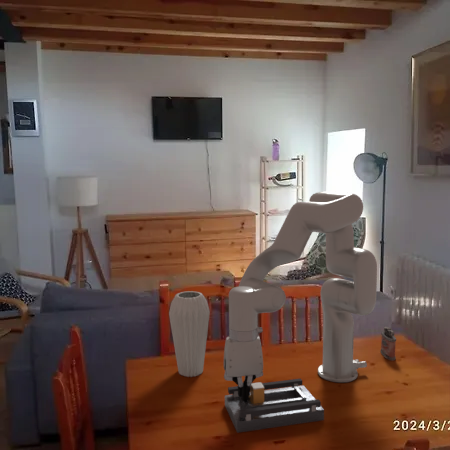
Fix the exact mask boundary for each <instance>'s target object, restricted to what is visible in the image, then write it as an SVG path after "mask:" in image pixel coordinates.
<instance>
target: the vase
mask: <svg viewBox="0 0 450 450" xmlns="http://www.w3.org/2000/svg"><path fill="white" fill-rule="evenodd" d="M209 307H210V306H209V303H208V301H207V299H206V297H205V296H204V294H203V293H202V292H200V291H193V290H191V291H189V290H188V291H181V292H177V293H176V294H174V297H173V298H172V301H171V303H170V307H169V312H168V316H169V321H170V328H171V333H172V334H171V335H172V340H173V346H174V352H175V360H176V366H177V370H178V374H179V375H181V376H184V377H187V378H189V377H190V378H192V377H196V376H200V375H202V373H203V371H204V365H205V356H206V348H207V340H208V339H207V338H208V332H209V331H208V330H209V322H210V321H209V320H210V311H211V310H210V308H209Z"/></svg>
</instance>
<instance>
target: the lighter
mask: <svg viewBox="0 0 450 450" xmlns="http://www.w3.org/2000/svg"><path fill="white" fill-rule="evenodd" d="M380 335H381V340H380V341H381V342H380V343H381V345H380V353H381V355H382V356H383V357H384V358H385V359H387V360H389V361H395V360H396V343H397V338H396V336H395V332H394V330H392V328H391V327H388V326H384V327H383V331H381V333H380Z"/></svg>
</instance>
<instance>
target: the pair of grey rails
mask: <svg viewBox="0 0 450 450" xmlns="http://www.w3.org/2000/svg"><path fill="white" fill-rule="evenodd" d="M261 383H262V385H263V386H264V390H272V389H280V388H287V387H293V388H294V387H295V386H303V379H302V378H293V379H287V380H277V381H271V382H270V381H269V382H261ZM227 392H228V395H233V396H234V397H238V385H236V386H229V387H228V388H227ZM250 392H251V386H250ZM321 406H322V401H321V400H320V399H319V398H318V399H316V400H310V401H302V402H295V403H288V404H280V405H273V406H266V407H258V408H251V409H243V410H239V415H240V417H241V418H244V417H245V419H246V421H249V420H251V416H259V415H266V414H273V413H280V412H287V411H294V410H301V409H310V410H311V411H312V412H313V411H316V407H321Z"/></svg>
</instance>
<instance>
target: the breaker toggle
mask: <svg viewBox="0 0 450 450" xmlns="http://www.w3.org/2000/svg"><path fill="white" fill-rule="evenodd" d="M262 383H263V382H261V381H260V382H259V381H258V382H252V384H251V403H252V404H256V403H264V386H263V385H262Z"/></svg>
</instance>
